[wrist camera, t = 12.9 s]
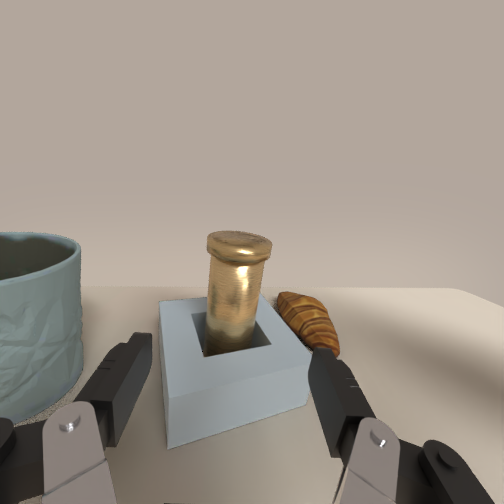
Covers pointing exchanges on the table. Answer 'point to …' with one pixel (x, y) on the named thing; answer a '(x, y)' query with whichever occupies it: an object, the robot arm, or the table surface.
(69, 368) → the teal plant pot
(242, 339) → the brass flanged cylinder
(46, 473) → the robot arm
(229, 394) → the frame
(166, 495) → the table surface
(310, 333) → the croissant
